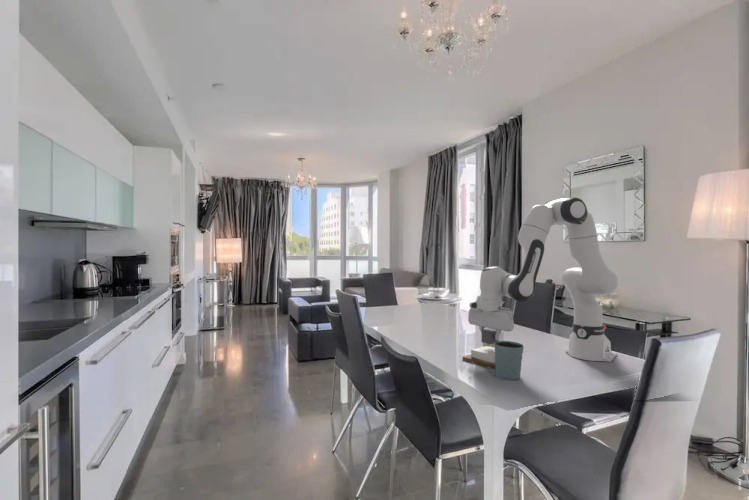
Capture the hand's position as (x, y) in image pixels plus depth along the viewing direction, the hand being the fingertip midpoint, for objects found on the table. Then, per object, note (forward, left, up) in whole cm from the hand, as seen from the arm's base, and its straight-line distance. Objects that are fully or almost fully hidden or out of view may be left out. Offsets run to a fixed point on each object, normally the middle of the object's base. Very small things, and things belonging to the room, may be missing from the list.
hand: (490, 338), depth 165 cm
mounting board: (0, 0, -10) cm, 10 cm away
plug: (0, 0, -3) cm, 3 cm away
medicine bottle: (-24, -15, -10) cm, 30 cm away
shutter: (0, 0, -5) cm, 5 cm away
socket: (0, 0, -8) cm, 8 cm away
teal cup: (+11, +16, -10) cm, 22 cm away
